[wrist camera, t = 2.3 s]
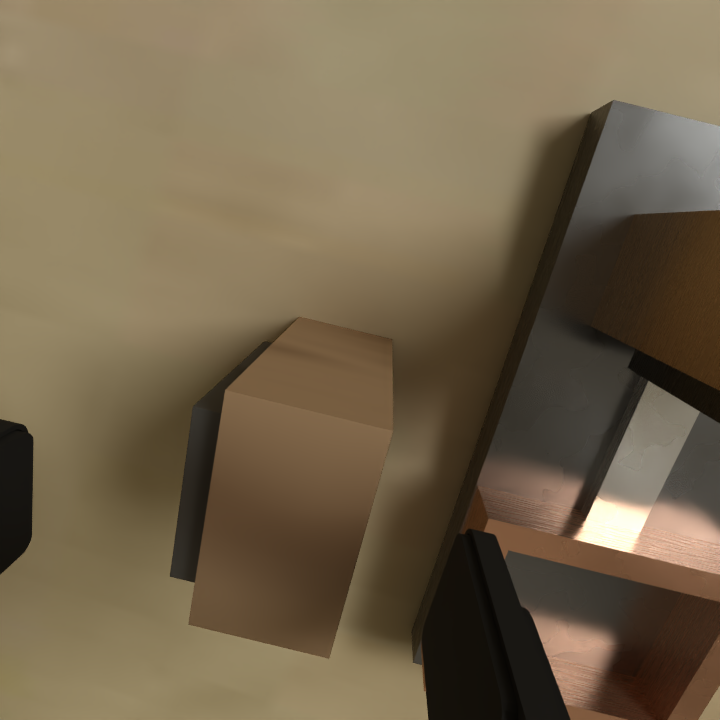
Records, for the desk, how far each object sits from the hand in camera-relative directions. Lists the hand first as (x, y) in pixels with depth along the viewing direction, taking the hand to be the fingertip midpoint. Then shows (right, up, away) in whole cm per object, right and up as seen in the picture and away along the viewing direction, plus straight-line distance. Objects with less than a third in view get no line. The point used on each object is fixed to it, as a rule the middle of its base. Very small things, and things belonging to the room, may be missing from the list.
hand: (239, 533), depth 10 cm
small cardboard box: (+1, +2, +8) cm, 9 cm away
